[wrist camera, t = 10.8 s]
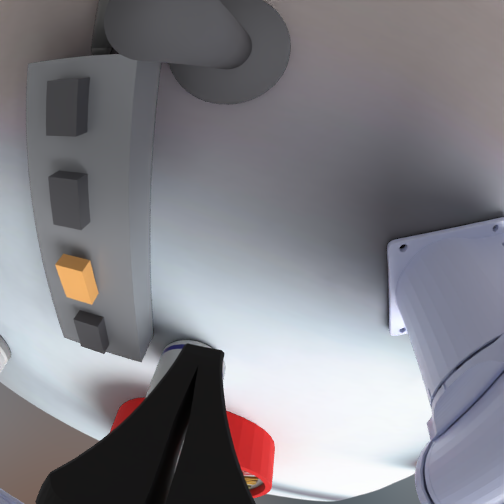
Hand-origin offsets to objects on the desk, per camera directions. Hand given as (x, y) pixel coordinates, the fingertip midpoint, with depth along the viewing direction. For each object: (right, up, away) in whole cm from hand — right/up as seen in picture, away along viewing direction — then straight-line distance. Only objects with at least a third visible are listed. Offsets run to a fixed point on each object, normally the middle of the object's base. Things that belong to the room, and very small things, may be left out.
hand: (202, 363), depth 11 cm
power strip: (-7, +9, +6) cm, 13 cm away
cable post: (+1, +14, +3) cm, 14 cm away
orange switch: (-9, +3, +7) cm, 11 cm away
